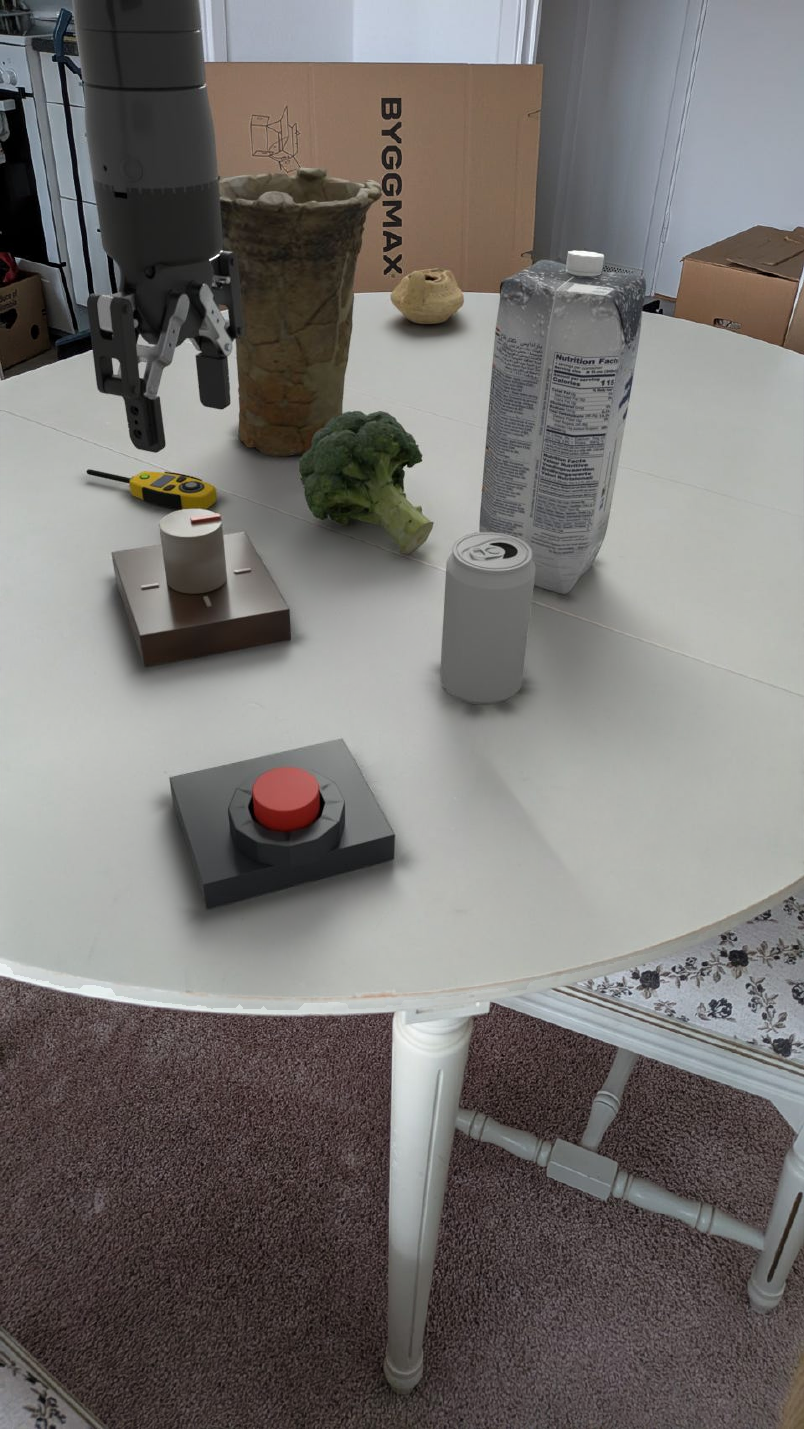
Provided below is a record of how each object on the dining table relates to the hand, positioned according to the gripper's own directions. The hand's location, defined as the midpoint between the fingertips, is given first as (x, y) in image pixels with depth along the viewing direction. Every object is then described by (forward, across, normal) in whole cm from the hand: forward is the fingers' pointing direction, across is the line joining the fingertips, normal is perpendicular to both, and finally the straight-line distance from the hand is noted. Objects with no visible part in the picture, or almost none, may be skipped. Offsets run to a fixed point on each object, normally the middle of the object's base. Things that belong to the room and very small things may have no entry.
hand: (184, 427), depth 71 cm
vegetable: (+18, -23, +4) cm, 30 cm away
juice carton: (+18, -23, +21) cm, 36 cm away
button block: (+18, +17, +16) cm, 29 cm away
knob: (+15, -4, -3) cm, 16 cm away
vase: (+18, -41, -13) cm, 47 cm away
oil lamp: (+18, -90, -16) cm, 93 cm away
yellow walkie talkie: (+18, -21, -20) cm, 34 cm away
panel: (+18, -4, -3) cm, 19 cm away
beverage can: (+18, -3, +22) cm, 29 cm away
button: (+14, +19, +17) cm, 29 cm away
